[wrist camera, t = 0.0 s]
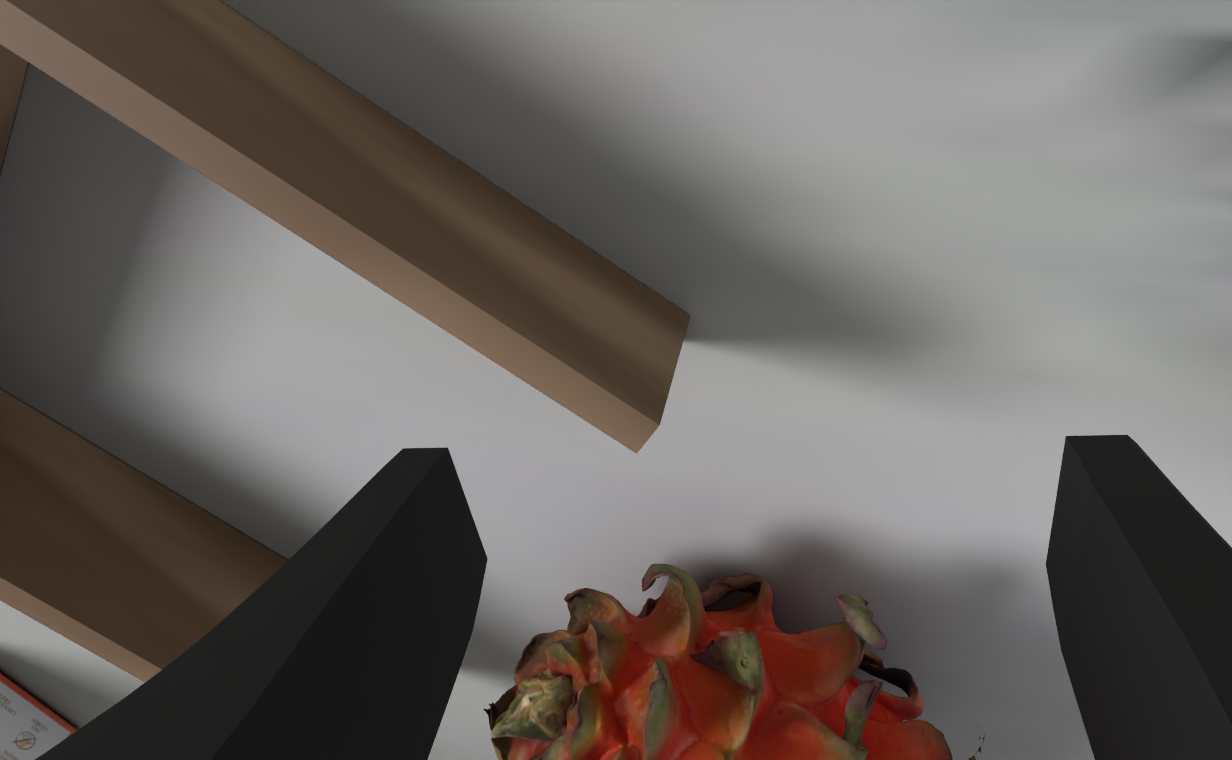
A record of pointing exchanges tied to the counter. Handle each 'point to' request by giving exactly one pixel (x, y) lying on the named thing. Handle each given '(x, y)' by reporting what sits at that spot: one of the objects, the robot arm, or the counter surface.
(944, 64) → the counter surface
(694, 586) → the dragon fruit
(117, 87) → the box
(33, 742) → the cracker box
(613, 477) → the counter surface
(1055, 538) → the robot arm
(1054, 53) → the counter surface
